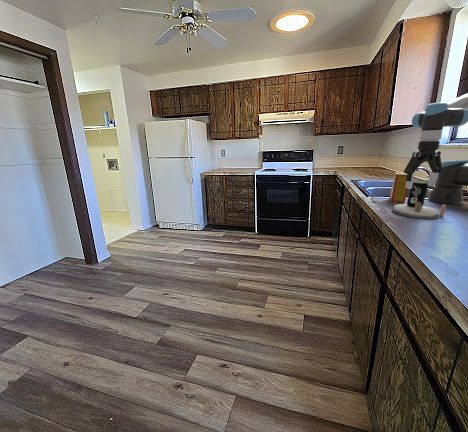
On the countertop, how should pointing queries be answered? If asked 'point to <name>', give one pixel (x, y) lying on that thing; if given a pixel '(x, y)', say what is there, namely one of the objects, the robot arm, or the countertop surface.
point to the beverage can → (417, 193)
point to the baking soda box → (399, 188)
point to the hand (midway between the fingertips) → (419, 187)
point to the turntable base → (422, 216)
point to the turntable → (416, 210)
